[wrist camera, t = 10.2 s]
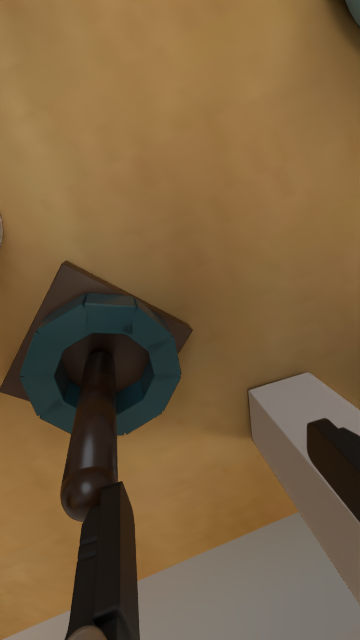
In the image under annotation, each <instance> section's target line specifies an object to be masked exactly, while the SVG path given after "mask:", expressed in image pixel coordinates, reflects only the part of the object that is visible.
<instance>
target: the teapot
mask: <svg viewBox="0 0 360 640" xmlns="http://www.w3.org/2000/svg"><path fill="white" fill-rule="evenodd" d="M345 2H346V4H347V6H348V9H349V11H350V13H351V15H352V16H353V18H354V20H355V21H356V23H357V24H358V25H359V27H360V0H345Z"/></svg>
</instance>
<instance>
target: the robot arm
mask: <svg viewBox="0 0 360 640" xmlns="http://www.w3.org/2000/svg"><path fill="white" fill-rule="evenodd" d="M307 453H308V456H309V458H310V460H311V462H312V463H313V465H314V466H315V467H316V469H317V470H318V471H319V472H320V474H321V475H322V476H323V477H324V479H325V480H326V481H327V482H328V484H329V485H330V486H331V487H332V489H333V490H334V491H335V492H336V494H337V495H338V496H339V497H340V499H341V500H342V501H343V502H344V504H345V505H346V506H347V507H348V509H349V510H350V511H351V512H352V514H353V515H354V516H355V517H356V519H357V520H358V521H359V522H360V436H359V435H358V434H356V433H354V432H352V431H350V430H348V429H346V428H344V427H341V428H337V427H336V426H335V425H334V424H333V423H332V422H331V421H330V420H329V419H327V418H322V419H319V420H316V421H313V422H309V423H308V424H307ZM65 640H140V634H139V613H138V589H137V567H136V545H135V524H134V515H133V510H132V506H131V503H130V501H129V498H128V495H127V493H126V490H125V487H124V484H123V482H122V481H121V482H117V483H114V484H111V485H108V486H105V487H102V490H101V499H100V505H99V506H96V507H93V508H90V509H89V511H88V513H87V515H86V517H85V520H84V522H83V524H82V528H81V536H80V546H79V551H78V562H77V567H76V574H75V582H74V590H73V597H72V605H71V613H70V621H69V626H68V631H67V634H66V637H65Z"/></svg>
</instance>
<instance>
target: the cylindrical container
mask: <svg viewBox="0 0 360 640" xmlns="http://www.w3.org/2000/svg"><path fill="white" fill-rule="evenodd" d="M2 240H3V225H2V219H1V216H0V247H1V243H2Z"/></svg>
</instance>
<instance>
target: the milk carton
mask: <svg viewBox="0 0 360 640" xmlns="http://www.w3.org/2000/svg"><path fill="white" fill-rule="evenodd" d="M248 395H249V407H250V419H251V431H252V440H253V442H254V444H255V445H256V447H257V448H258V450H259V451H260V453H261V454H262V456H263V457H264V459H265V460H266V462H267V463H268V465H269V467H270V468H271V470H272V471H273V473H274V474H275V476H276V477H277V479H278V480H279V482H280V483H281V485H282V486H283V488H284V490H285V491H286V493H287V494H288V496H289V497H290V499H291V500H292V502H293V503H294V505H295V506H296V508H297V509H298V511H299V512H300V514H301V516H302V517H303V518H304V520H305V522H306V523H307V525H308V526H309V528H310V529H311V531H312V532H313V534H314V535H315V537H316V538H317V540H318V542H319V543H320V545H321V546H322V548H323V549H324V551H325V552H326V554H327V555H328V557H329V558H330V560H331V562H332V563H333V565H334V566H335V568H336V569H337V571H338V572H339V574H340V575H341V577H342V578H343V580H344V581H345V583H346V584H347V586H348V588H349V589H350V590H351V592H352V594H353V595H354V597H355V598H356V600H357V601H358V603H359V604H360V522H359V521H358V520H357V519H356V517H355V516H354V515H353V514H352V512H351V511H350V510H349V509H348V507H347V506H346V505H345V504H344V502H343V501H342V500H341V499H340V497H339V496H338V495H337V494H336V492H335V491H334V490H333V489H332V487H331V486H330V485H329V484H328V482H327V481H326V480H325V479H324V477H323V476H322V475H321V474H320V472H319V471H318V470H317V469H316V467H315V466H314V465H313V463H312V462H311V460H310V458H309V456H308V453H307V424H308V423H309V422H313V421H316V420H319V419H322V418H327V419H329V420H330V421H331V422H332V423H333V424H334V425H335V426H336V427H337V428H341V427H344V428H346V429H348V430H350V431H352V432H354V433H356V434H358V435H359V436H360V410H359V409H357V408H356V407H355V406H353V405H352V404H351V403H349V402H348V401H347V400H345V399H344V398H343V397H341V396H340V395H339V394H337V393H336V392H335V391H333V390H332V389H331V388H329V387H328V386H327V385H325V384H324V383H323V382H321V381H320V380H319V379H317V378H316V377H315V376H313V375H312V374H311V373H309V372H306V373H303V374H300V375H296V376H293V377H290V378H287V379H283V380H280V381H277V382H274V383H270V384H267V385H264V386H261V387H257V388H254V389H251V390H249V391H248Z"/></svg>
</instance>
